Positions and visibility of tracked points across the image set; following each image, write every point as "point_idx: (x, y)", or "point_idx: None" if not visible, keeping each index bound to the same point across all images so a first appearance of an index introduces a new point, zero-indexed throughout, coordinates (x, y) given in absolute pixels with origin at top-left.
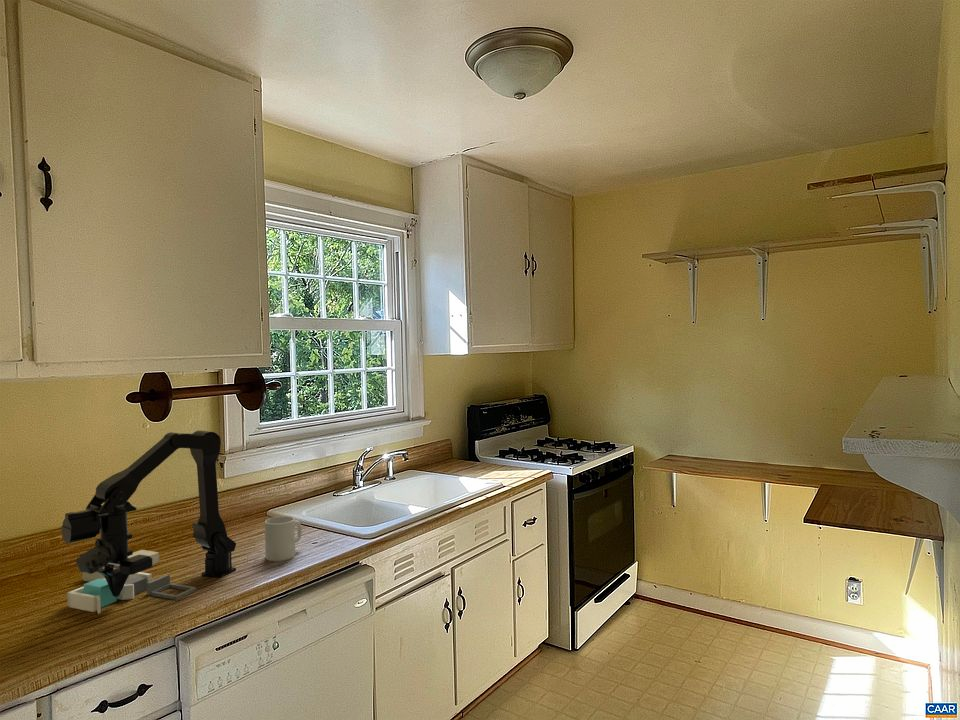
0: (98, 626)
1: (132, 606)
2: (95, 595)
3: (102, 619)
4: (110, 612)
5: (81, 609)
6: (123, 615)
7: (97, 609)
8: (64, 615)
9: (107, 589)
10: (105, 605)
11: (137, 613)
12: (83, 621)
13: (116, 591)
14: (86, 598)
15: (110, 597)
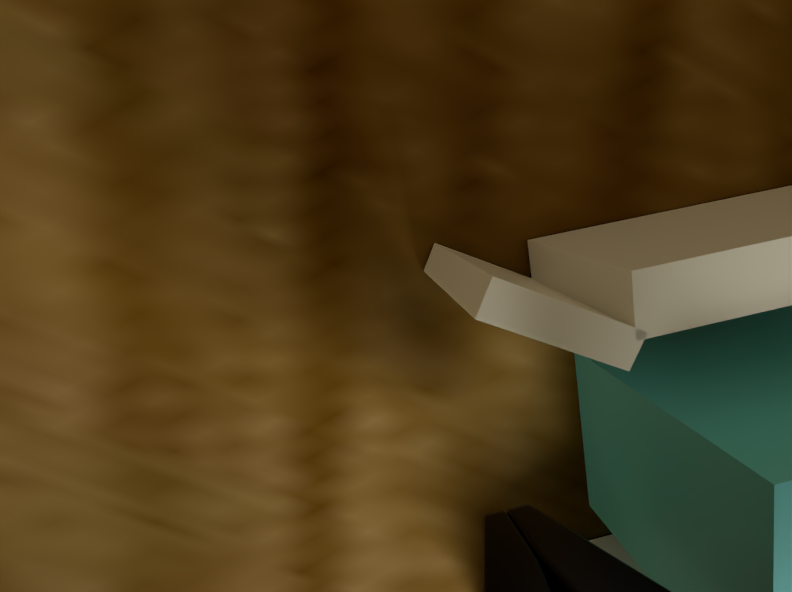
0: (3, 41)
1: (295, 539)
2: (762, 376)
3: (210, 189)
4: (344, 340)
5: (719, 201)
6: (112, 383)
7: (473, 258)
8: (749, 7)
9: (704, 534)
10: (580, 393)
11: (29, 495)
12: (361, 28)
13: (486, 581)
14: (754, 231)
15: (621, 485)
